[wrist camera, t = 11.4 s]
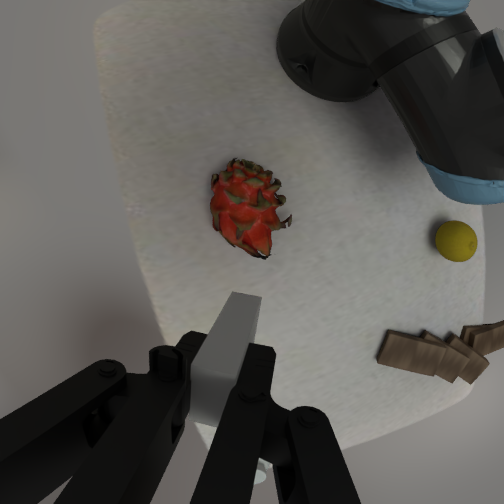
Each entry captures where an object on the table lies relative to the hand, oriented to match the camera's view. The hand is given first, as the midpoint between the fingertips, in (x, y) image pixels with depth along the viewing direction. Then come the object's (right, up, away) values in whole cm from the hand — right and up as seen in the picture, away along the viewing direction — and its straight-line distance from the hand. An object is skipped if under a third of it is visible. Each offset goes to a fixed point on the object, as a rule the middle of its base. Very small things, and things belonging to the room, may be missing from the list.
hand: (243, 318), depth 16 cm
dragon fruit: (0, +9, +23) cm, 25 cm away
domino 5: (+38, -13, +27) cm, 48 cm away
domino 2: (+26, -11, +27) cm, 39 cm away
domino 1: (+20, -10, +26) cm, 35 cm away
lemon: (+28, +6, +25) cm, 38 cm away
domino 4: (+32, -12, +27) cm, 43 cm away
